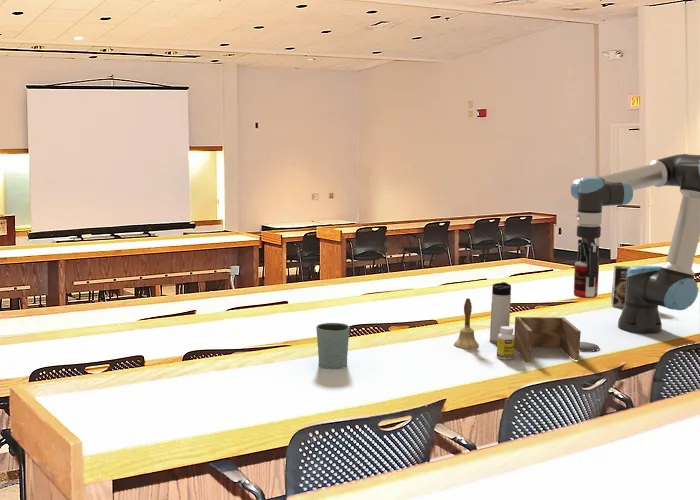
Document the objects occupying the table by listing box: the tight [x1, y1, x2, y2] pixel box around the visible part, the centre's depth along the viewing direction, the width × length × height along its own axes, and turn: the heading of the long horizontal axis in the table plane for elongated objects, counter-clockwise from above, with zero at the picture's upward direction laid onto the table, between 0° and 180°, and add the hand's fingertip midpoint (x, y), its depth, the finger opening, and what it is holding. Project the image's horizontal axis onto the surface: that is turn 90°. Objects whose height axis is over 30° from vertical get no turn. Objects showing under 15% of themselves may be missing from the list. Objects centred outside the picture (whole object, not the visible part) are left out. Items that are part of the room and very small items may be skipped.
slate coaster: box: [579, 341, 600, 352], centre depth 289 cm, size 10×10×1 cm
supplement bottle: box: [496, 325, 515, 361], centre depth 274 cm, size 5×5×10 cm
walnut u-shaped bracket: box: [513, 316, 582, 363], centre depth 280 cm, size 16×18×10 cm
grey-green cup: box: [316, 322, 351, 370], centre depth 262 cm, size 10×10×12 cm
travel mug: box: [489, 281, 512, 345], centre depth 292 cm, size 6×7×20 cm
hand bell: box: [453, 298, 480, 350], centre depth 287 cm, size 8×8×16 cm
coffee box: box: [610, 265, 631, 309], centre depth 352 cm, size 9×6×16 cm
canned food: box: [573, 260, 600, 299], centre depth 285 cm, size 8×8×11 cm
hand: (585, 293), depth 286 cm, fingers closed on canned food, 8 cm apart
